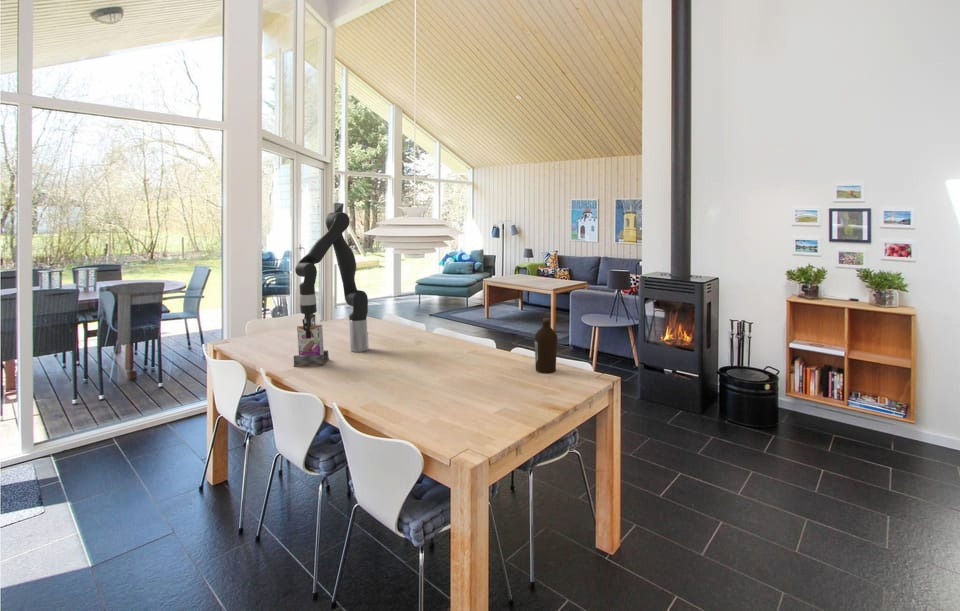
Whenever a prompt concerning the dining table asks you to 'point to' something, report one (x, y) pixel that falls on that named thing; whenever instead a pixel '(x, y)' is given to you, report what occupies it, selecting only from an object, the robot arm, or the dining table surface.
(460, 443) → the dining table surface
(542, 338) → the olive oil
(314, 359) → the rail holder
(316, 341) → the candy bar box
